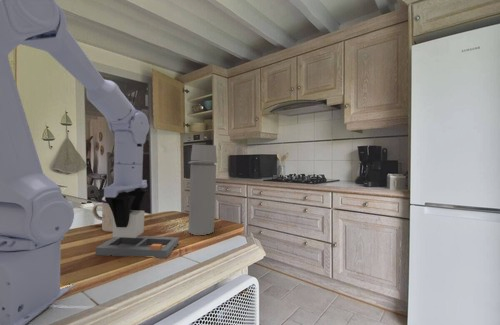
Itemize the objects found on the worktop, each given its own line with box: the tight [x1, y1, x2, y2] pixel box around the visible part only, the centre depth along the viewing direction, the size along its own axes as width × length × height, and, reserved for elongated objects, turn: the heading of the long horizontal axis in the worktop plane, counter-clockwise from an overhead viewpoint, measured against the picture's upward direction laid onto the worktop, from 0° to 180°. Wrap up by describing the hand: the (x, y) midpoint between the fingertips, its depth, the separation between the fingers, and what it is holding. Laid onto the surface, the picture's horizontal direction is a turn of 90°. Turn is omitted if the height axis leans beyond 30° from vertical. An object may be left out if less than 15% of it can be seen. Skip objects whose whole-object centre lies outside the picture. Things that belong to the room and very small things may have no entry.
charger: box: [112, 210, 145, 238], centre depth 53 cm, size 4×5×5 cm
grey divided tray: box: [95, 235, 180, 259], centre depth 54 cm, size 8×15×3 cm, turn 89°
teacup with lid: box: [92, 196, 113, 233], centre depth 68 cm, size 12×9×12 cm
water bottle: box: [187, 144, 218, 236], centre depth 67 cm, size 9×8×25 cm
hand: (127, 223), depth 53 cm, fingers closed on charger, 4 cm apart
